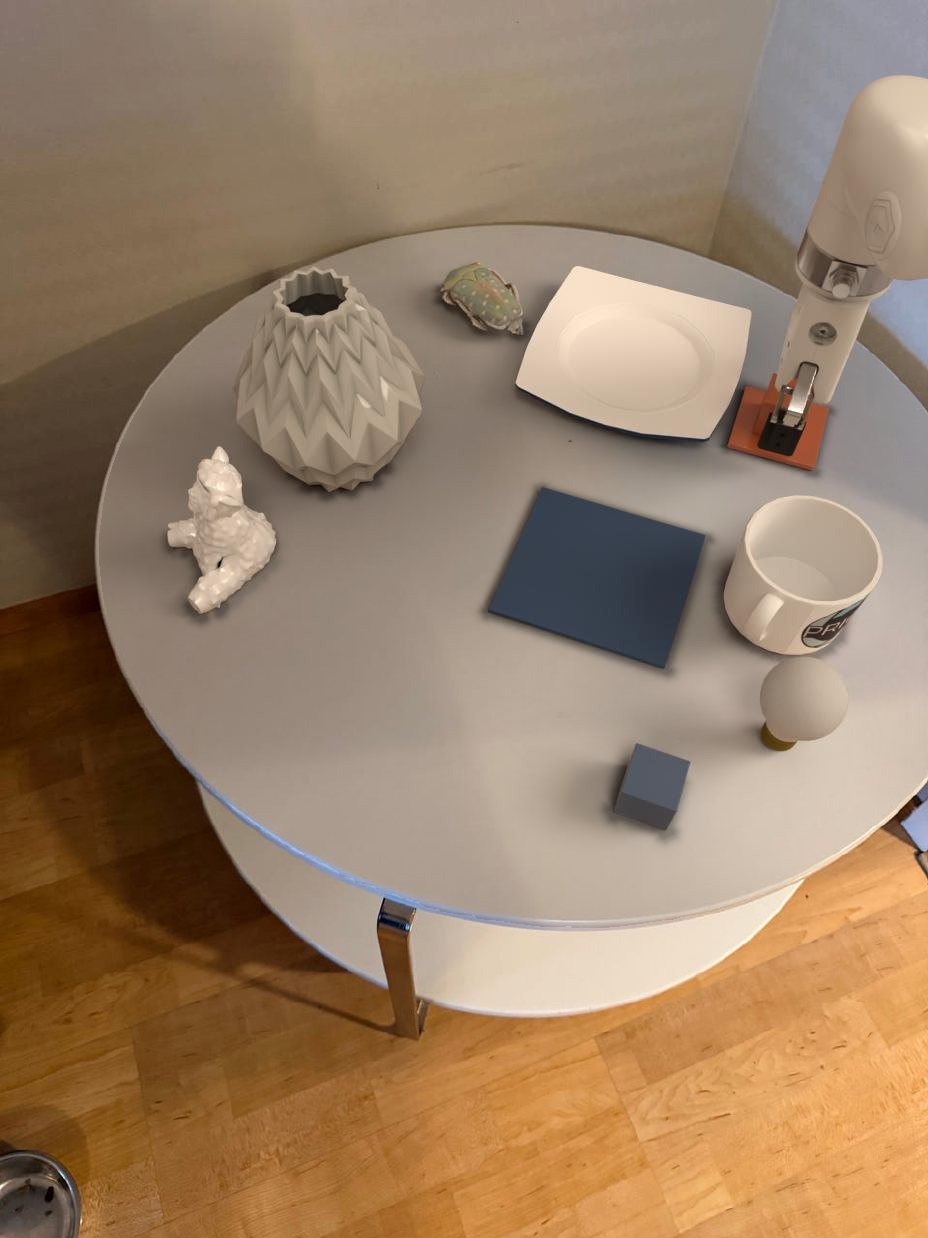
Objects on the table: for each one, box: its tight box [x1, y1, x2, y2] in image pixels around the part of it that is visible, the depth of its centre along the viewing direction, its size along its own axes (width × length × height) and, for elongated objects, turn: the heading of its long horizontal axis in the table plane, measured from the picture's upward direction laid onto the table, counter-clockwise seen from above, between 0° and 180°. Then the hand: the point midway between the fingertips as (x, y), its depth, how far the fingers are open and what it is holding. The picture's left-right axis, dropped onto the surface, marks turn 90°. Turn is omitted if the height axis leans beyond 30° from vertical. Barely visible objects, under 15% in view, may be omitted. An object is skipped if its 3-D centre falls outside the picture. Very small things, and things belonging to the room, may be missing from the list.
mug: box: [723, 495, 884, 656], centre depth 75 cm, size 13×10×8 cm
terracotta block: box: [753, 372, 813, 435], centre depth 87 cm, size 4×4×4 cm
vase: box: [232, 265, 426, 493], centre depth 79 cm, size 16×16×18 cm
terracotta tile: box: [726, 385, 830, 471], centre depth 89 cm, size 8×8×1 cm
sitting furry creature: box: [167, 446, 277, 615], centre depth 76 cm, size 10×9×12 cm
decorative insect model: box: [439, 261, 525, 336], centre depth 97 cm, size 9×11×5 cm
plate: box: [514, 265, 753, 443], centre depth 92 cm, size 20×20×3 cm
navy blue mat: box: [488, 486, 706, 669], centre depth 80 cm, size 15×14×1 cm
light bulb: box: [759, 656, 850, 752], centre depth 68 cm, size 6×6×10 cm
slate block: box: [613, 743, 691, 831], centre depth 68 cm, size 4×4×4 cm
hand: (784, 413), depth 87 cm, fingers open, 9 cm apart
